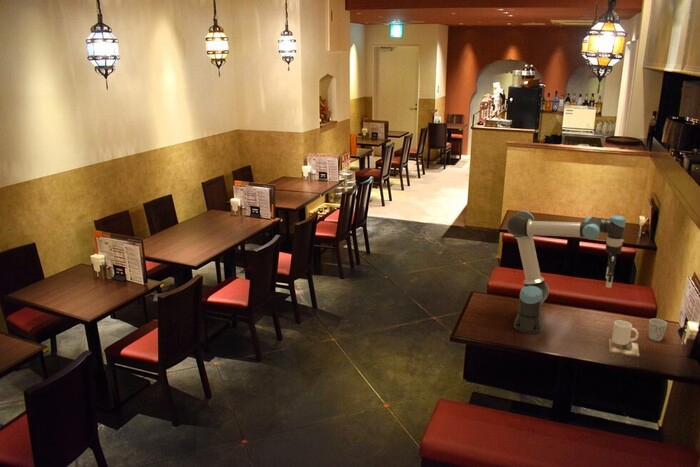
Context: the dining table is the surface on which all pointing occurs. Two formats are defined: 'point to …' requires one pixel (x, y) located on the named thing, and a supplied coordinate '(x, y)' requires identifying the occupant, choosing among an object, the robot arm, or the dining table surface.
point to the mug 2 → (657, 329)
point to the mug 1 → (623, 332)
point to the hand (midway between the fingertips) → (608, 282)
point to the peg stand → (624, 348)
